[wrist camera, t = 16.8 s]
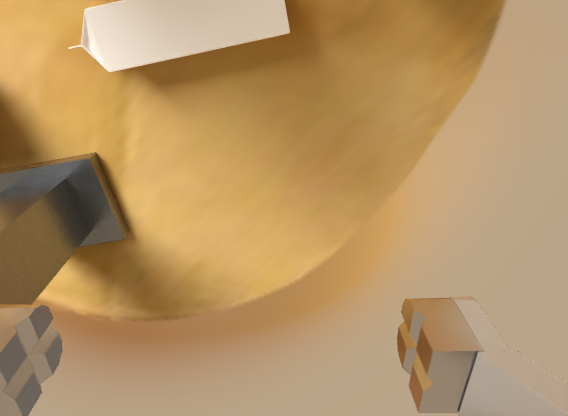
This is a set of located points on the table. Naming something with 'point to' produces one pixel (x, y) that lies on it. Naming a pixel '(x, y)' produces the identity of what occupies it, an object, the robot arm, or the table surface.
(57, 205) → the pedestal
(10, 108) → the table surface
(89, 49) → the milk
